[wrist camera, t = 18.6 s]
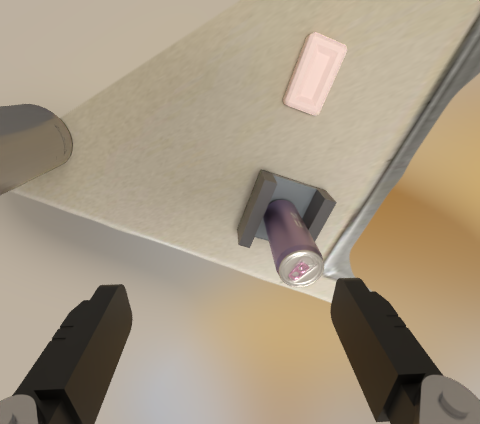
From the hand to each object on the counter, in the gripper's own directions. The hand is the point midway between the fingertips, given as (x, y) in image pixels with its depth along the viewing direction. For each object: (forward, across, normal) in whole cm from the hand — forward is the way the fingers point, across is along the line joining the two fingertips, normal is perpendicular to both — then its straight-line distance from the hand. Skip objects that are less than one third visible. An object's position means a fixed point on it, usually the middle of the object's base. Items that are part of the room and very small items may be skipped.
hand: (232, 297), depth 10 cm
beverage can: (+32, -9, +13) cm, 36 cm away
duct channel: (+33, -9, +13) cm, 37 cm away
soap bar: (+34, -12, -8) cm, 37 cm away
